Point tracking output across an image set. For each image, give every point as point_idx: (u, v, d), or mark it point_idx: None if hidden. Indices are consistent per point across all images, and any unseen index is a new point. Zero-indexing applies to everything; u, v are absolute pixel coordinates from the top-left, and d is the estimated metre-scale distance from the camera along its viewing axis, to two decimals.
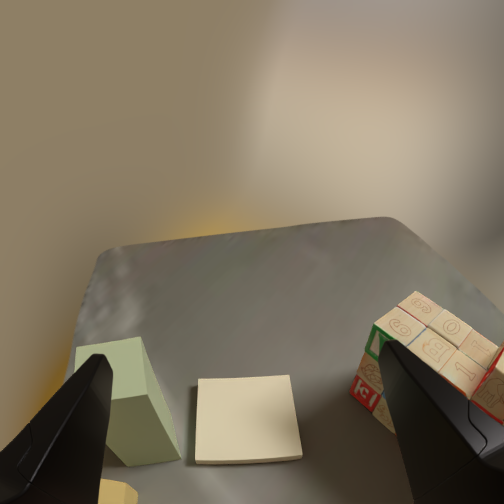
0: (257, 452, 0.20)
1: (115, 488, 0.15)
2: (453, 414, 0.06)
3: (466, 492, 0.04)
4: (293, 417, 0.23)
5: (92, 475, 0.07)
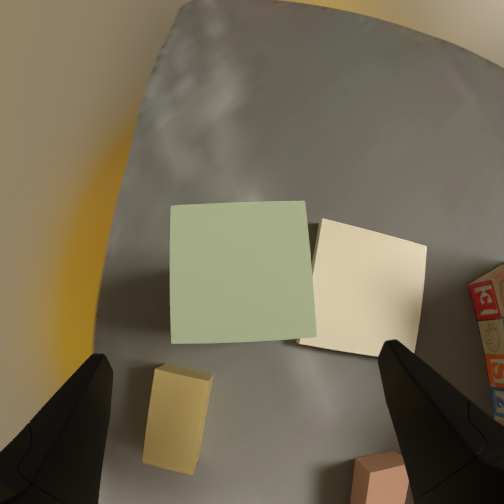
0: (371, 346, 0.18)
1: (194, 388, 0.16)
2: (453, 413, 0.06)
3: (466, 492, 0.04)
4: (418, 308, 0.19)
5: (92, 475, 0.07)
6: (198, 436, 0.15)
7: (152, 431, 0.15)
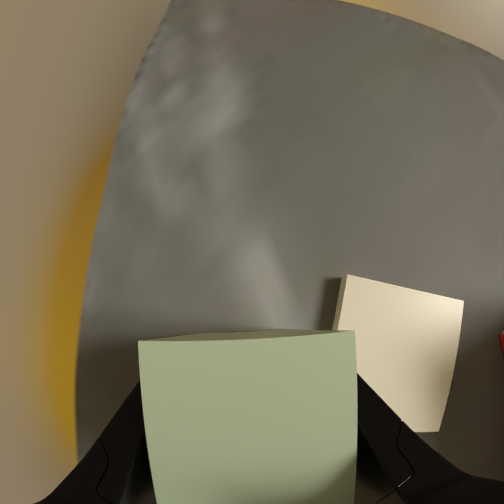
0: None
1: None
2: (380, 436, 0.06)
3: None
4: (450, 375, 0.15)
5: None
6: None
7: None
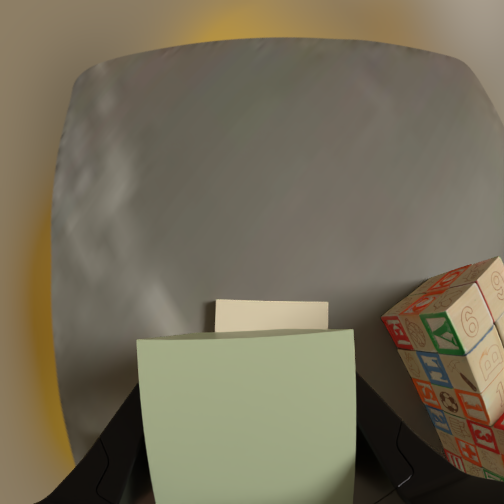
0: None
1: None
2: (380, 436, 0.06)
3: None
4: None
5: None
6: None
7: None
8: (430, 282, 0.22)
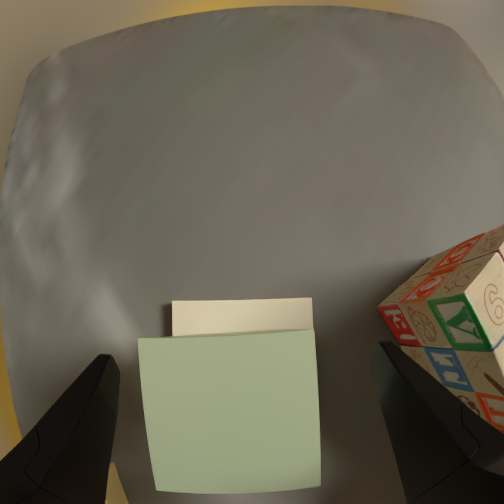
0: None
1: None
2: (446, 416, 0.06)
3: (459, 496, 0.04)
4: None
5: (99, 476, 0.07)
6: None
7: None
8: (434, 260, 0.18)
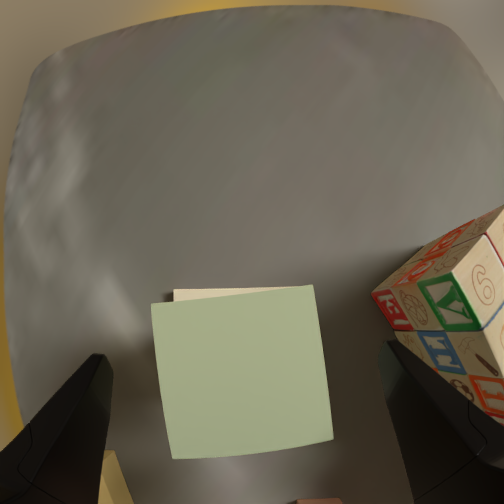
0: None
1: None
2: (453, 414, 0.06)
3: (466, 492, 0.04)
4: None
5: (92, 475, 0.07)
6: None
7: None
8: (427, 248, 0.19)
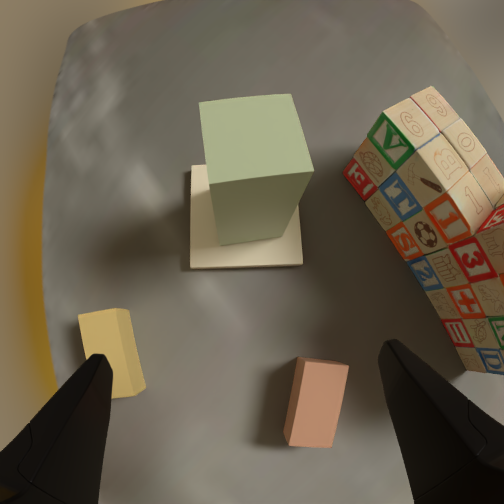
0: (255, 257, 0.23)
1: (107, 318, 0.19)
2: (453, 413, 0.06)
3: (466, 492, 0.04)
4: (296, 216, 0.23)
5: (92, 475, 0.07)
6: (124, 357, 0.19)
7: None
8: None
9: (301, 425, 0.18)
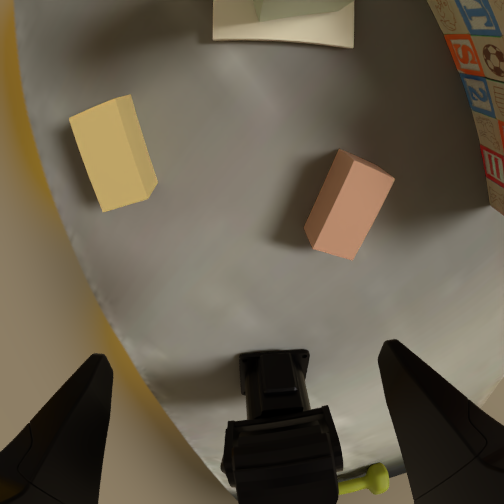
0: (297, 32, 0.14)
1: (106, 113, 0.14)
2: (453, 414, 0.06)
3: (466, 492, 0.04)
4: None
5: (92, 475, 0.07)
6: (132, 155, 0.16)
7: (94, 175, 0.16)
8: None
9: (330, 230, 0.19)
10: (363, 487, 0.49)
